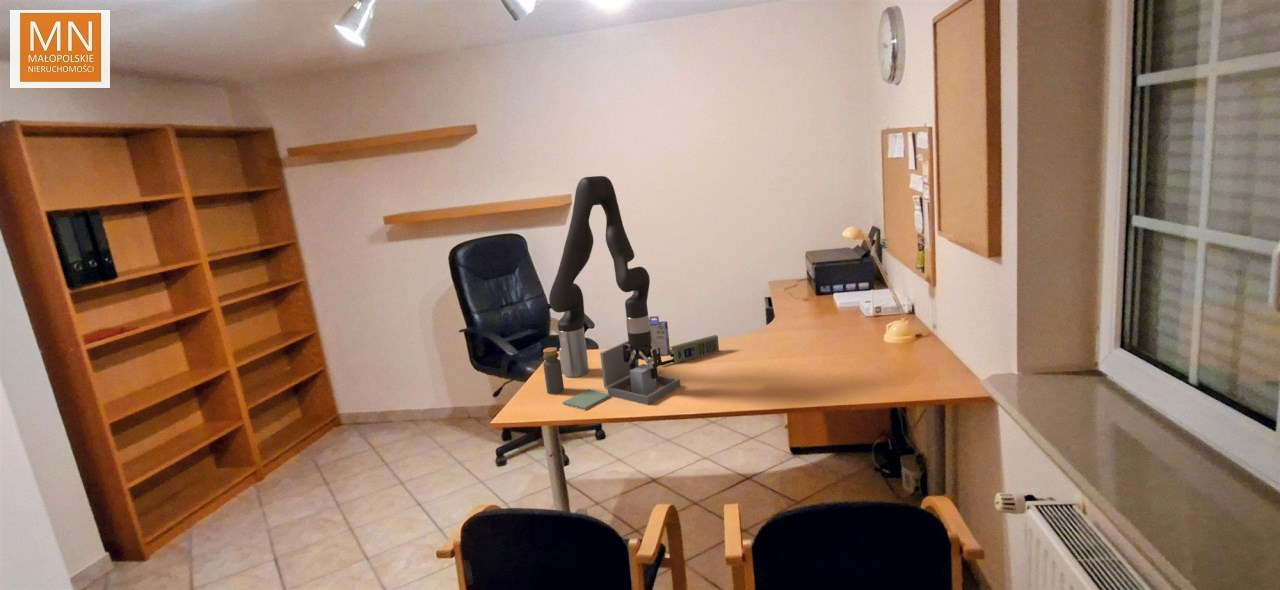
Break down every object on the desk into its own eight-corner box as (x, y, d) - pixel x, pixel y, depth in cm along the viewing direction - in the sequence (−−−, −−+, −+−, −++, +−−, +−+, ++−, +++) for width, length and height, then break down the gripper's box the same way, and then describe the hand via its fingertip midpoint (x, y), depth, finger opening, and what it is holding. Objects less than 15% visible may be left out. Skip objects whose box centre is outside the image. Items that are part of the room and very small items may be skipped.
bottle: (557, 386, 220) (551, 345, 216) (567, 390, 215) (562, 348, 212) (543, 392, 216) (537, 350, 212) (554, 395, 212) (548, 353, 208)
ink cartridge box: (670, 350, 246) (667, 315, 243) (668, 355, 241) (665, 319, 237) (645, 351, 248) (642, 316, 245) (643, 356, 243) (639, 320, 239)
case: (648, 404, 196) (643, 360, 193) (604, 394, 208) (600, 352, 205) (682, 385, 210) (679, 343, 206) (640, 376, 221) (636, 337, 218)
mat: (562, 404, 203) (562, 402, 203) (588, 391, 212) (588, 389, 212) (584, 410, 197) (584, 407, 197) (610, 396, 206) (610, 394, 206)
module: (631, 393, 207) (629, 370, 205) (645, 386, 212) (643, 363, 210) (643, 396, 204) (641, 372, 202) (657, 388, 209) (654, 365, 207)
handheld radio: (720, 352, 238) (663, 368, 228) (715, 351, 241) (658, 366, 231) (718, 335, 237) (661, 350, 226) (714, 334, 240) (656, 349, 229)
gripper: (614, 330, 205) (620, 377, 208) (648, 334, 196) (654, 383, 199) (629, 324, 210) (634, 369, 214) (663, 327, 201) (668, 375, 205)
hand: (644, 376), depth 207 cm, fingers open, 8 cm apart
